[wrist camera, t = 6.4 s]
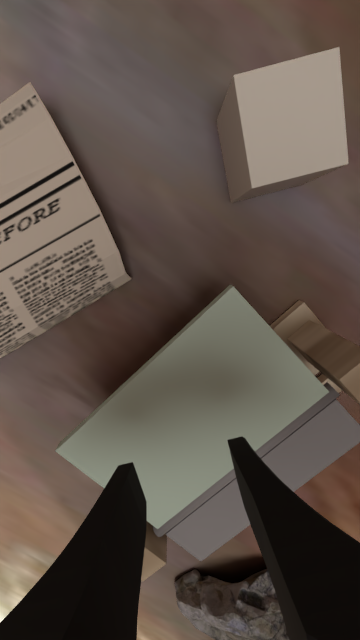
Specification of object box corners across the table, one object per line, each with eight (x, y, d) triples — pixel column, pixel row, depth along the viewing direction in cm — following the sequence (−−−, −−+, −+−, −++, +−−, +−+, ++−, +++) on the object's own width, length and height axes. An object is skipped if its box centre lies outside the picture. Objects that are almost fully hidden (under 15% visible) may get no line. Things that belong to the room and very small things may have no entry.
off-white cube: (292, 102, 17) (339, 47, 13) (301, 185, 19) (348, 163, 14) (215, 122, 18) (233, 75, 13) (230, 203, 19) (252, 188, 14)
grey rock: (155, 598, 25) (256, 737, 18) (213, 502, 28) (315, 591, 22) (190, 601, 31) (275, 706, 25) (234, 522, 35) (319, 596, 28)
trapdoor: (333, 395, 20) (374, 433, 16) (192, 508, 22) (197, 566, 18) (222, 273, 18) (238, 282, 13) (75, 412, 20) (51, 455, 16)
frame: (357, 368, 22) (444, 425, 15) (177, 512, 25) (180, 616, 18) (298, 300, 20) (365, 327, 14) (113, 462, 23) (90, 554, 16)
